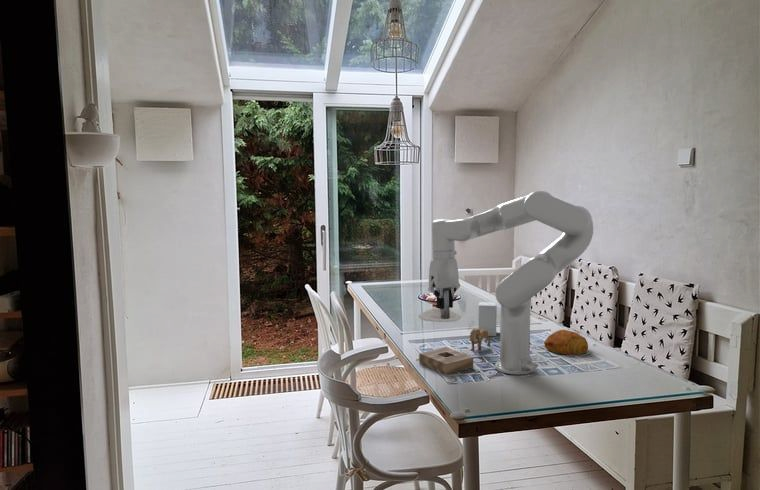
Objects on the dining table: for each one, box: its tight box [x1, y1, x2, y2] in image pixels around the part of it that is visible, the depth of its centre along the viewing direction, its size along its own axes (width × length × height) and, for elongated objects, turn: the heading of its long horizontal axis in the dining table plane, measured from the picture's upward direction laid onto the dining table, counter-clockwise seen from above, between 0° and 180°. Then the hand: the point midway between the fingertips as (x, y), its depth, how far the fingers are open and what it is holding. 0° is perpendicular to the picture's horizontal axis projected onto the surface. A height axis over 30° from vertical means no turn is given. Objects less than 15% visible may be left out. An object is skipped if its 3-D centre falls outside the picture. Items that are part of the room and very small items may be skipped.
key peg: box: [439, 287, 451, 320], centre depth 178 cm, size 4×4×12 cm
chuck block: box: [418, 346, 474, 375], centre depth 175 cm, size 14×12×4 cm
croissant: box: [543, 329, 589, 356], centre depth 190 cm, size 14×16×8 cm
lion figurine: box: [469, 327, 491, 352], centre depth 193 cm, size 15×5×9 cm, turn 153°
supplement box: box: [477, 301, 498, 337], centre depth 213 cm, size 7×7×13 cm
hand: (444, 307), depth 178 cm, fingers closed on key peg, 3 cm apart
